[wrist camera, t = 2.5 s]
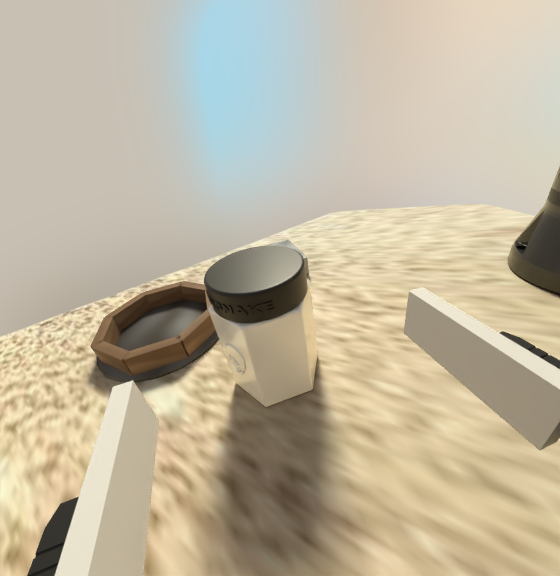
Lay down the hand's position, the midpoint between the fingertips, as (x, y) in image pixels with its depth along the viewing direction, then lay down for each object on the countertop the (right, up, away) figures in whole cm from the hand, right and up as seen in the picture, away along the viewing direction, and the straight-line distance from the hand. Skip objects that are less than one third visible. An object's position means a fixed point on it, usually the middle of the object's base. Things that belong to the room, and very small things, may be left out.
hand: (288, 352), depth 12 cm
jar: (-1, -6, +15) cm, 16 cm away
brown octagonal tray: (-16, -3, +23) cm, 28 cm away
